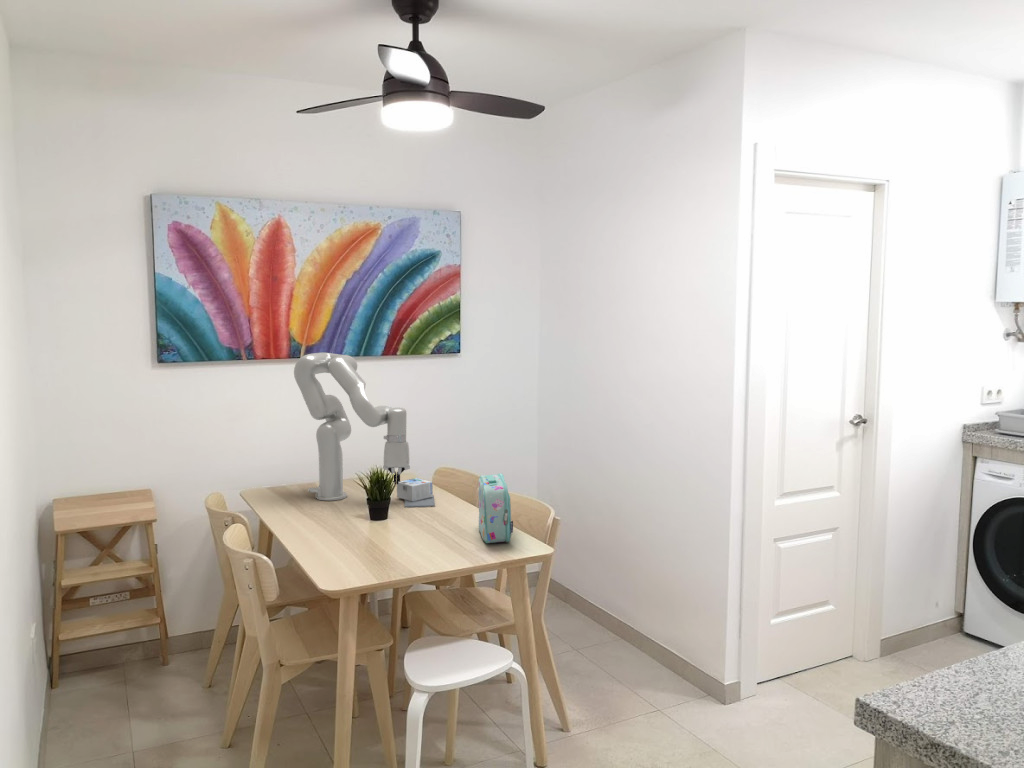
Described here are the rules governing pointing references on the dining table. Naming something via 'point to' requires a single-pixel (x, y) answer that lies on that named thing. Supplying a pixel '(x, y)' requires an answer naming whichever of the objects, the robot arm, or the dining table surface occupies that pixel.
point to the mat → (421, 502)
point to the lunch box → (494, 509)
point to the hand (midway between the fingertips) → (396, 483)
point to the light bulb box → (414, 489)
